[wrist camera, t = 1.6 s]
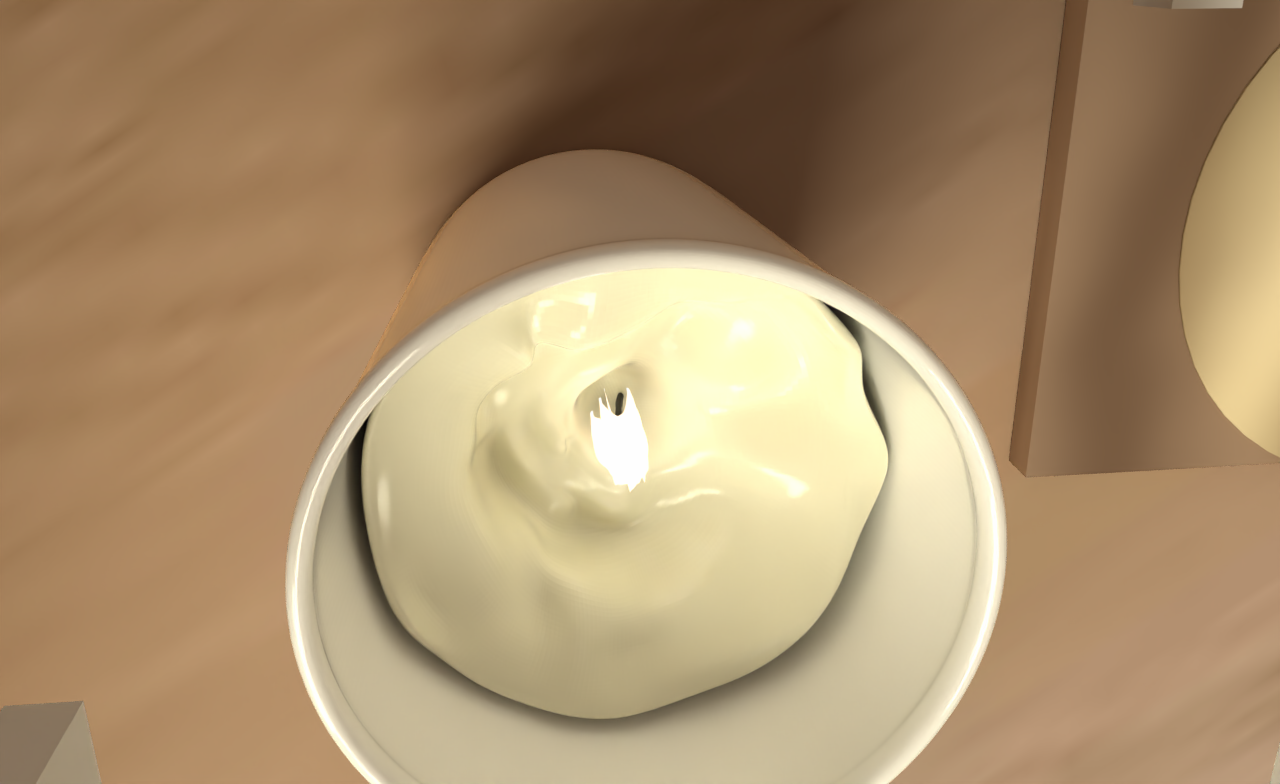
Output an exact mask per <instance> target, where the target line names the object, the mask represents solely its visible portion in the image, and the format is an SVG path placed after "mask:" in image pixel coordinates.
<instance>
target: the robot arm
mask: <svg viewBox="0 0 1280 784" xmlns="http://www.w3.org/2000/svg"><path fill="white" fill-rule="evenodd" d="M0 784H102V783H101V779H100V774H99V770H98V765H97V761H96V756H95V751H94V747H93V742H92V738H91V733H90V729H89V724H88V720H87V715H86V711H85V706H84V702H83V701H75V702H60V703H44V704H28V705H13V706H4V707H3V708H2V710H1V711H0ZM1270 784H1280V744H1279V748H1278V752H1277V756H1276V760H1275V764H1274V768H1273V772H1272V777H1271V781H1270Z"/></svg>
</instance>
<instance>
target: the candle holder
mask: <svg viewBox="0 0 1280 784" xmlns="http://www.w3.org/2000/svg"><path fill="white" fill-rule="evenodd" d="M1006 560H1007V521H1006V510H1005V502H1004V496H1003V490H1002V485H1001V480H1000V476H999V472H998V468H997V465H996V461H995V458H994V455H993V452H992V449H991V446H990V443H989V441H988V438H987V435H986V433H985V431H984V428H983V426H982V424H981V422H980V420H979V418H978V416H977V414H976V412H975V410H974V408H973V406H972V404H971V403H970V401H969V399H968V397H967V396H966V394H965V393H964V391H963V389H962V388H961V386H960V385H959V383H958V382H957V380H956V379H955V378H954V376H953V375H952V373H951V372H950V371H949V369H948V368H947V367H946V366H945V364H944V363H943V362H942V361H941V359H940V358H939V357H938V356H937V355H936V354H935V352H934V351H933V350H932V349H931V348H930V347H929V346H928V345H927V344H926V343H925V342H924V341H923V340H922V339H921V338H920V337H919V336H918V335H917V334H916V333H915V332H914V331H913V330H912V329H911V328H910V327H909V326H907V325H906V324H905V323H904V322H903V321H902V320H900V319H899V318H898V317H897V316H896V315H894V314H893V313H892V312H891V311H889V310H888V309H887V308H885V307H884V306H882V305H881V304H880V303H878V302H877V301H875V300H874V299H872V298H871V297H869V296H868V295H866V294H865V293H863V292H861V291H860V290H858V289H856V288H855V287H853V286H851V285H849V284H848V283H846V282H844V281H842V280H840V279H838V278H836V277H834V276H832V275H830V274H829V273H827V272H826V271H825V270H823V269H822V268H821V267H819V266H818V265H817V264H815V263H814V262H813V261H811V260H810V259H808V258H807V257H806V256H804V255H803V254H802V253H800V252H799V251H798V250H796V249H795V248H794V247H792V246H791V245H790V244H788V243H787V242H785V241H784V240H783V239H781V238H780V237H779V236H777V235H776V234H775V233H773V232H772V231H771V230H769V229H768V228H767V227H765V226H764V225H762V224H761V223H760V222H758V221H757V220H756V219H754V218H753V217H752V216H750V215H749V214H748V213H746V212H745V211H743V210H742V209H741V208H739V207H738V206H737V205H735V204H734V203H732V202H731V201H730V200H728V199H727V198H726V197H724V196H723V195H721V194H720V193H718V192H717V191H716V190H714V189H713V188H711V187H710V186H708V185H707V184H705V183H704V182H702V181H700V180H699V179H697V178H695V177H694V176H692V175H690V174H688V173H687V172H685V171H683V170H681V169H679V168H677V167H674V166H672V165H670V164H667V163H665V162H662V161H660V160H657V159H654V158H651V157H647V156H644V155H640V154H635V153H630V152H624V151H617V150H605V149H586V150H574V151H566V152H560V153H556V154H551V155H547V156H543V157H540V158H537V159H534V160H531V161H528V162H526V163H523V164H521V165H519V166H516V167H514V168H512V169H510V170H508V171H506V172H504V173H503V174H501V175H499V176H497V177H496V178H494V179H493V180H491V181H490V182H488V183H487V184H485V185H484V186H482V187H481V188H480V189H478V190H477V191H476V192H475V193H474V194H472V195H471V196H470V197H469V198H468V199H467V200H466V201H465V202H464V203H463V204H462V205H461V206H460V207H459V208H458V209H457V210H456V211H455V212H454V213H453V214H452V215H451V216H450V218H449V219H448V220H447V221H446V223H445V224H444V225H443V226H442V228H441V229H440V231H439V232H438V233H437V235H436V236H435V238H434V239H433V241H432V243H431V244H430V246H429V248H428V249H427V251H426V253H425V254H424V256H423V258H422V260H421V262H420V263H419V265H418V267H417V269H416V271H415V273H414V275H413V276H412V278H411V280H410V282H409V284H408V286H407V288H406V290H405V292H404V294H403V296H402V298H401V299H400V301H399V303H398V305H397V307H396V309H395V311H394V313H393V315H392V317H391V319H390V321H389V323H388V325H387V327H386V329H385V331H384V332H383V334H382V336H381V338H380V340H379V342H378V344H377V346H376V348H375V350H374V352H373V354H372V356H371V358H370V360H369V362H368V364H367V366H366V367H365V369H364V371H363V373H362V375H361V377H360V379H359V381H358V383H357V385H356V387H355V388H354V389H353V391H352V392H351V393H350V395H349V396H348V397H347V399H346V400H345V402H344V403H343V404H342V406H341V407H340V409H339V410H338V412H337V413H336V415H335V417H334V418H333V420H332V421H331V423H330V425H329V427H328V428H327V430H326V432H325V434H324V435H323V437H322V439H321V441H320V443H319V445H318V447H317V449H316V451H315V453H314V455H313V458H312V460H311V462H310V465H309V467H308V469H307V472H306V475H305V477H304V480H303V483H302V486H301V488H300V492H299V495H298V498H297V502H296V505H295V509H294V513H293V518H292V522H291V527H290V532H289V538H288V546H287V555H286V569H285V597H286V610H287V619H288V626H289V632H290V637H291V642H292V646H293V650H294V654H295V658H296V662H297V665H298V668H299V671H300V674H301V677H302V680H303V682H304V685H305V687H306V690H307V692H308V694H309V697H310V699H311V701H312V703H313V705H314V707H315V709H316V711H317V713H318V715H319V717H320V719H321V720H322V722H323V724H324V725H325V727H326V729H327V730H328V732H329V734H330V735H331V737H332V738H333V740H334V741H335V742H336V744H337V745H338V747H339V748H340V749H341V751H342V752H343V753H344V755H345V756H346V757H347V759H348V760H349V761H350V762H351V763H352V765H353V766H354V767H355V768H356V769H357V770H358V771H359V773H360V774H361V775H362V776H363V777H364V778H365V779H366V780H367V781H368V782H369V783H370V784H888V783H890V782H891V781H892V780H893V779H894V778H895V777H896V776H898V775H899V774H900V773H901V772H902V771H903V770H904V769H905V768H906V767H907V766H908V765H909V764H910V763H911V762H912V761H913V760H914V759H915V758H916V757H917V756H918V755H919V754H920V753H921V751H922V750H923V749H924V748H925V747H926V746H927V745H928V744H929V742H930V741H931V740H932V739H933V738H934V736H935V735H936V734H937V733H938V731H939V730H940V729H941V727H942V726H943V725H944V723H945V722H946V721H947V719H948V718H949V717H950V715H951V714H952V712H953V711H954V709H955V708H956V706H957V705H958V703H959V702H960V700H961V698H962V697H963V695H964V693H965V692H966V690H967V688H968V686H969V684H970V683H971V681H972V679H973V677H974V675H975V673H976V671H977V669H978V667H979V665H980V662H981V660H982V658H983V656H984V653H985V651H986V648H987V646H988V643H989V640H990V637H991V635H992V632H993V628H994V625H995V622H996V618H997V615H998V611H999V607H1000V602H1001V597H1002V592H1003V586H1004V579H1005V571H1006Z"/></svg>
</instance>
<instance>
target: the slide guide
mask: <svg viewBox="0 0 1280 784" xmlns="http://www.w3.org/2000/svg"><path fill="white" fill-rule="evenodd" d="M1009 461H1010V462H1011V463H1012V464H1013V465H1014V466H1015V467H1016V468H1017V469H1018V470H1019V471H1020V472H1021V473H1022V474H1023V475H1024V476H1025V477H1043V476H1061V475H1079V474H1097V473H1115V472H1133V471H1151V470H1169V469H1187V468H1205V467H1223V466H1241V465H1259V464H1277V463H1280V0H1066V8H1065V16H1064V24H1063V32H1062V40H1061V48H1060V56H1059V64H1058V72H1057V80H1056V88H1055V96H1054V104H1053V112H1052V120H1051V128H1050V136H1049V144H1048V152H1047V160H1046V168H1045V176H1044V184H1043V192H1042V200H1041V208H1040V216H1039V224H1038V232H1037V240H1036V248H1035V256H1034V264H1033V272H1032V280H1031V288H1030V296H1029V304H1028V312H1027V320H1026V328H1025V336H1024V344H1023V352H1022V360H1021V368H1020V376H1019V384H1018V392H1017V400H1016V408H1015V416H1014V424H1013V432H1012V440H1011V448H1010V456H1009Z"/></svg>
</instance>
